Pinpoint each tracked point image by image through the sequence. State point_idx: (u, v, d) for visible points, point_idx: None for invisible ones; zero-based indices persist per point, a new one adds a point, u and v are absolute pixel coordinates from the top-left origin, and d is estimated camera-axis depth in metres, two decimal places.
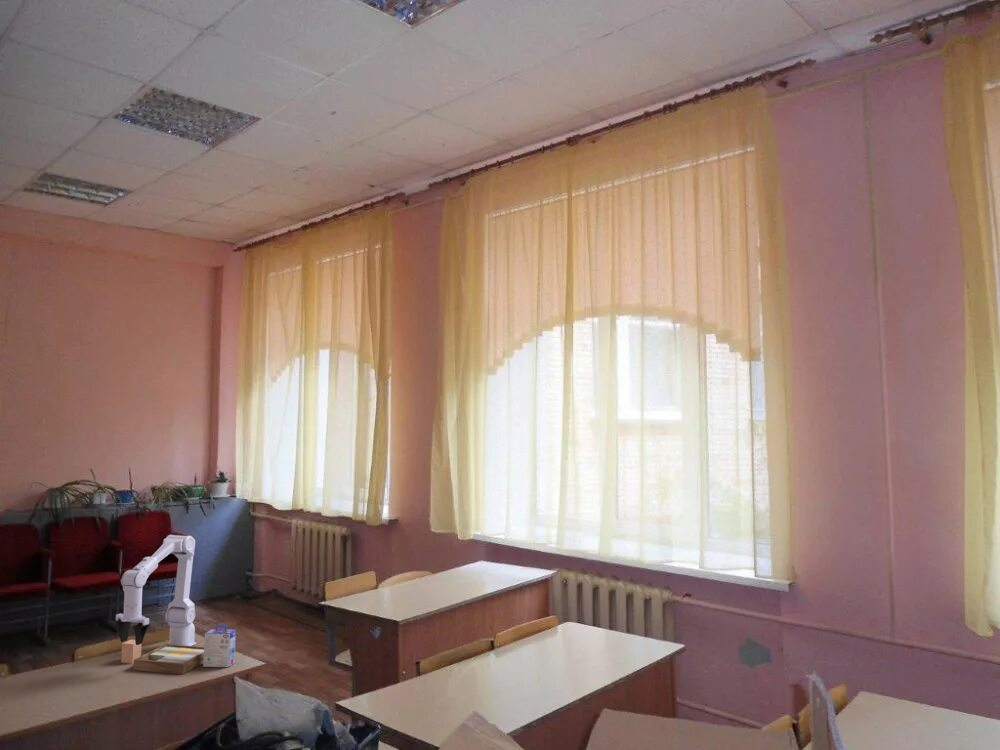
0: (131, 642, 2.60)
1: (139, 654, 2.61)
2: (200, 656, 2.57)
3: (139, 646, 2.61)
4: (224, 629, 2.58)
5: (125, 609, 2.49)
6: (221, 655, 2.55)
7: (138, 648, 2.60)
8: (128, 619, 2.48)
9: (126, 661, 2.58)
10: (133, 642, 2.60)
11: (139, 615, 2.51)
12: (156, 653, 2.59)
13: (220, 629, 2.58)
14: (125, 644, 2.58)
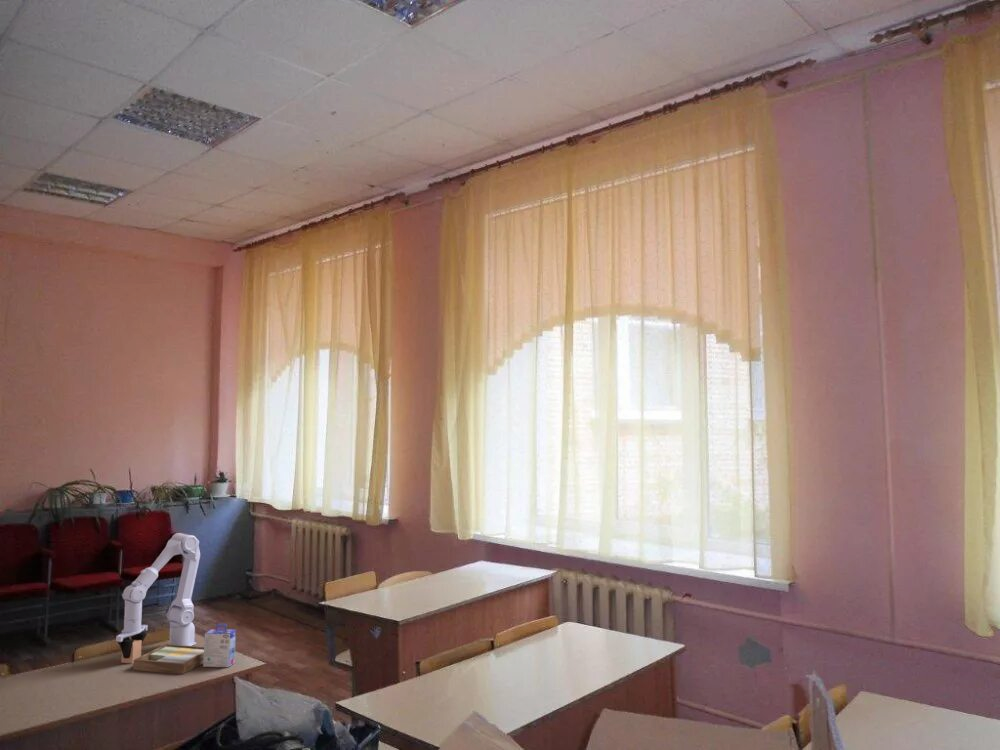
0: None
1: (139, 654, 2.61)
2: (200, 656, 2.57)
3: (139, 646, 2.61)
4: (224, 629, 2.58)
5: None
6: (221, 655, 2.55)
7: (138, 648, 2.60)
8: (123, 631, 2.60)
9: (126, 661, 2.58)
10: (133, 642, 2.60)
11: (128, 631, 2.58)
12: (156, 653, 2.59)
13: (220, 629, 2.58)
14: None
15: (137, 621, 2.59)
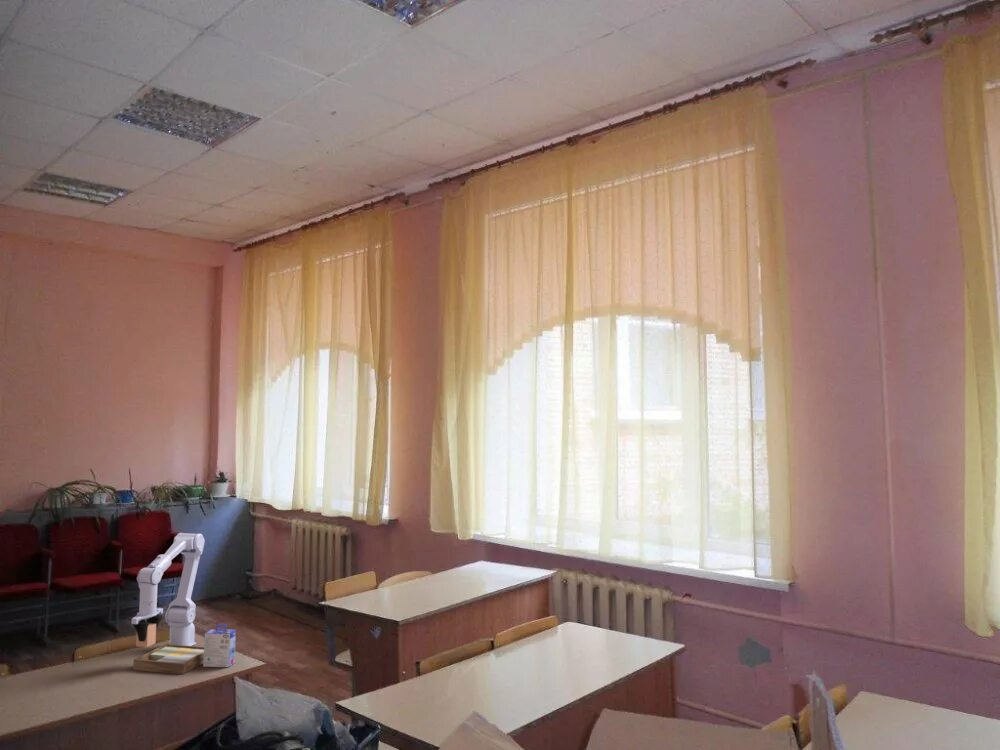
0: None
1: (154, 637, 2.57)
2: (200, 656, 2.57)
3: (154, 629, 2.57)
4: (224, 629, 2.58)
5: None
6: (221, 655, 2.55)
7: (152, 631, 2.57)
8: (138, 614, 2.56)
9: (141, 644, 2.54)
10: None
11: (144, 613, 2.54)
12: (156, 653, 2.59)
13: (220, 629, 2.58)
14: None
15: (152, 604, 2.56)
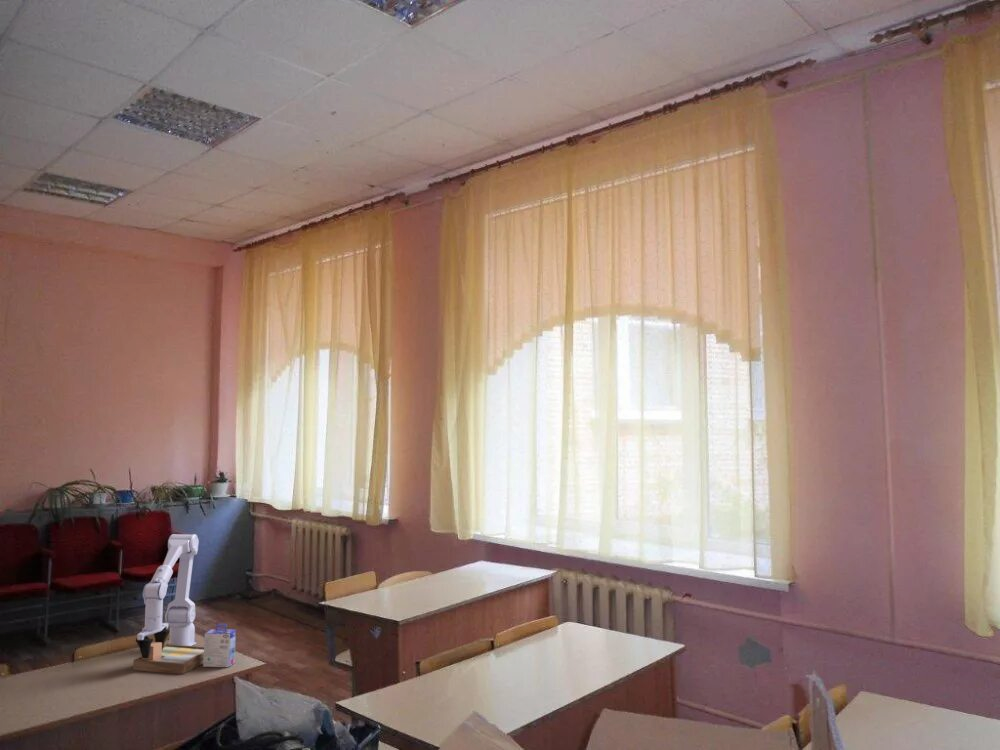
0: (151, 644, 2.54)
1: (159, 657, 2.55)
2: (200, 656, 2.57)
3: (159, 648, 2.55)
4: (224, 629, 2.58)
5: None
6: (221, 655, 2.55)
7: (158, 651, 2.55)
8: (144, 629, 2.54)
9: None
10: (153, 644, 2.54)
11: (149, 629, 2.52)
12: None
13: (220, 629, 2.58)
14: None
15: (158, 619, 2.54)
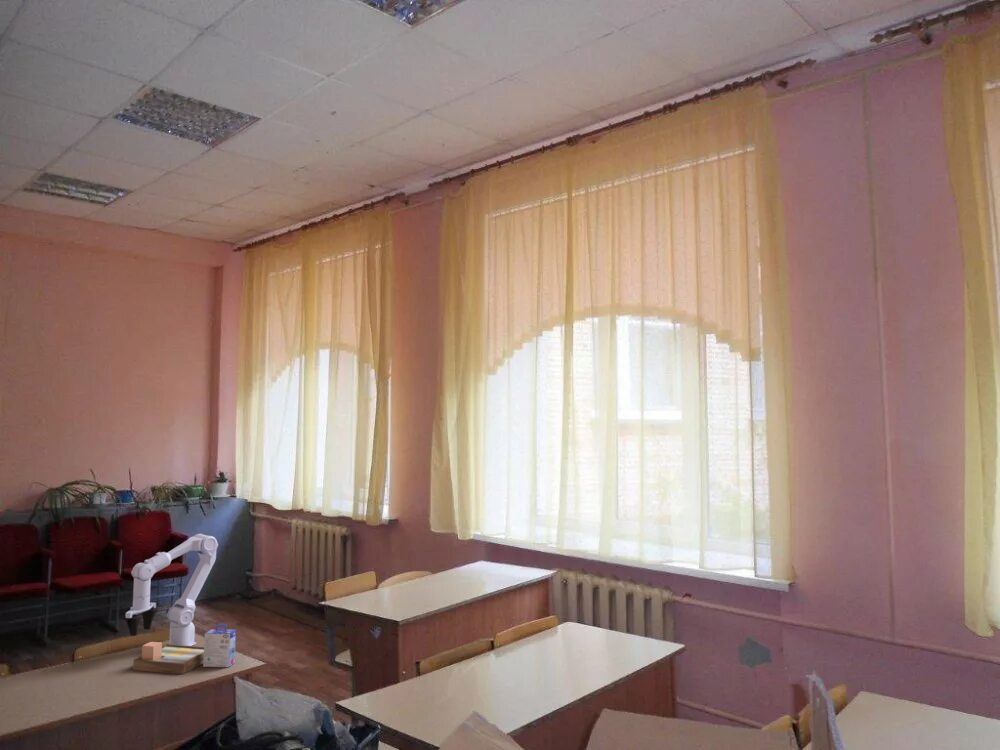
0: (151, 644, 2.54)
1: (159, 657, 2.55)
2: (200, 656, 2.57)
3: (159, 648, 2.55)
4: (224, 629, 2.58)
5: None
6: (221, 655, 2.55)
7: (158, 651, 2.55)
8: (132, 608, 2.64)
9: None
10: (153, 644, 2.54)
11: (137, 608, 2.62)
12: None
13: (220, 629, 2.58)
14: (145, 646, 2.53)
15: (146, 598, 2.63)
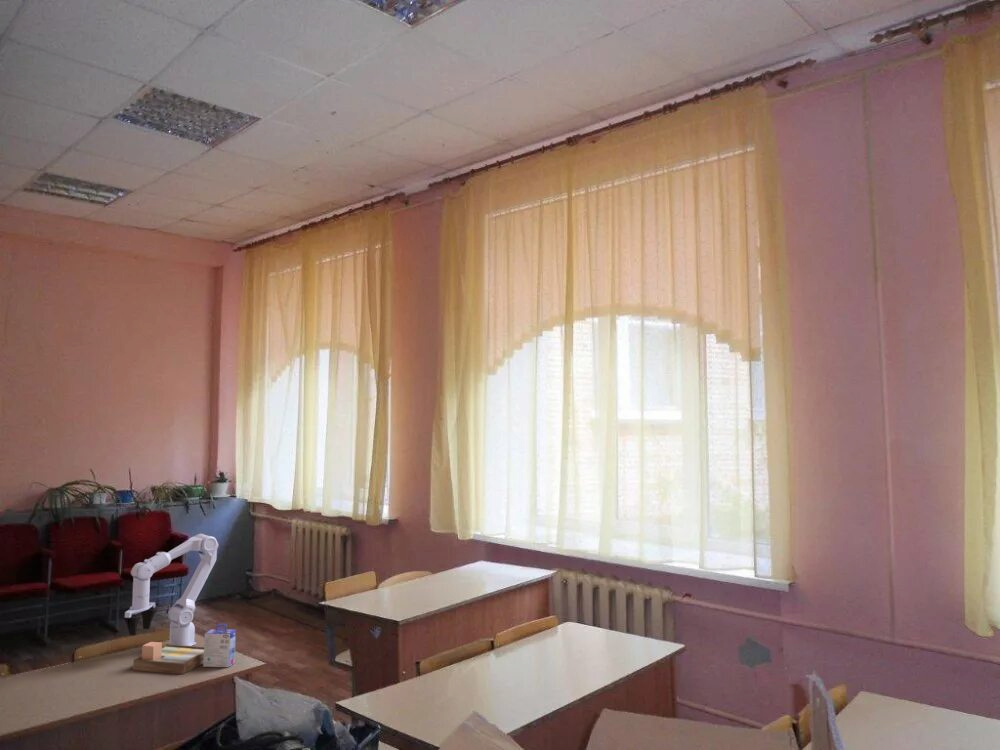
0: (151, 644, 2.54)
1: (159, 657, 2.55)
2: (200, 656, 2.57)
3: (159, 648, 2.55)
4: (224, 629, 2.58)
5: None
6: (221, 655, 2.55)
7: (158, 651, 2.55)
8: (131, 608, 2.64)
9: None
10: (153, 644, 2.54)
11: (137, 607, 2.62)
12: None
13: (220, 629, 2.58)
14: (145, 646, 2.53)
15: (145, 598, 2.64)
